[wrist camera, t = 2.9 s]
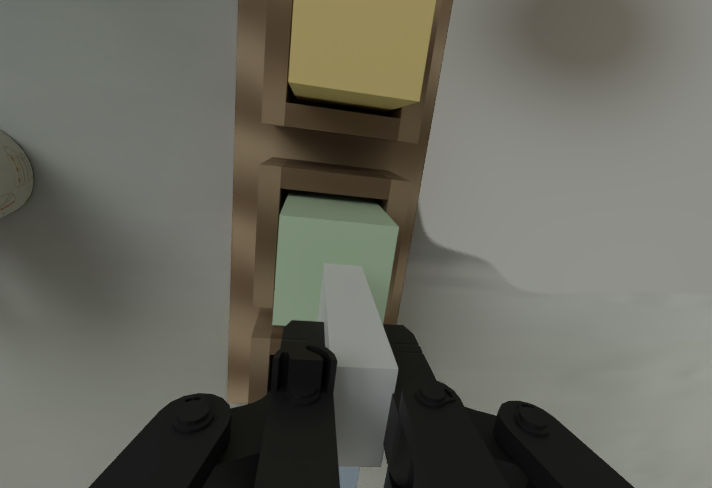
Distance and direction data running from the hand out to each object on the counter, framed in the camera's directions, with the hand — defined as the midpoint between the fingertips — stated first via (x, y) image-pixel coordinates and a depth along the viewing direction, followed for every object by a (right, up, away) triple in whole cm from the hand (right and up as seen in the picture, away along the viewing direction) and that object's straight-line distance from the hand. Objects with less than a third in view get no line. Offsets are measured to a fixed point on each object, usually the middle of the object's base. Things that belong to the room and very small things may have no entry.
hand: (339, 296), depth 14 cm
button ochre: (0, +12, +5) cm, 13 cm away
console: (-2, +4, +12) cm, 13 cm away
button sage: (-1, +3, +8) cm, 9 cm away
